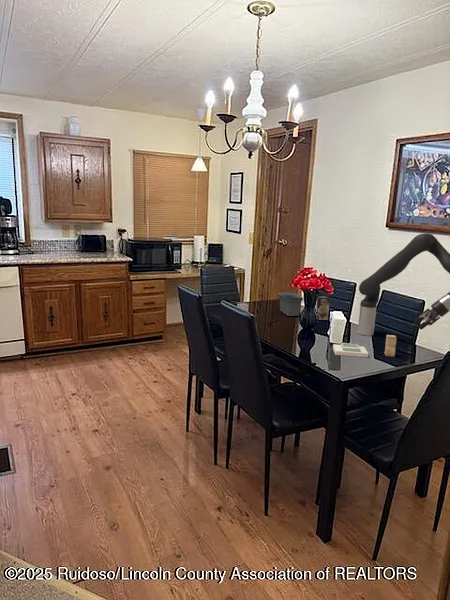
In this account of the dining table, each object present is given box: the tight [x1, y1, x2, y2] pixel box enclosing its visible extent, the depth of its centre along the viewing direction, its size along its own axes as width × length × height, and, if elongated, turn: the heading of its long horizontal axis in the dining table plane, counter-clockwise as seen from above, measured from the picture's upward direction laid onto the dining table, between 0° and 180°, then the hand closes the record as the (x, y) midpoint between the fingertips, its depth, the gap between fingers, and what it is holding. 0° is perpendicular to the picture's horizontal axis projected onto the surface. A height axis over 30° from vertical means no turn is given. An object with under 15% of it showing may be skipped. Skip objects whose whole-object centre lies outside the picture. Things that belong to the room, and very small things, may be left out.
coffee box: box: [315, 295, 331, 320], centre depth 287 cm, size 9×6×16 cm
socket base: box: [332, 342, 369, 358], centre depth 218 cm, size 12×16×4 cm
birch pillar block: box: [384, 334, 398, 357], centre depth 216 cm, size 4×4×10 cm
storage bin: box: [277, 292, 304, 317], centre depth 300 cm, size 21×16×14 cm
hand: (416, 326), depth 212 cm, fingers open, 8 cm apart
